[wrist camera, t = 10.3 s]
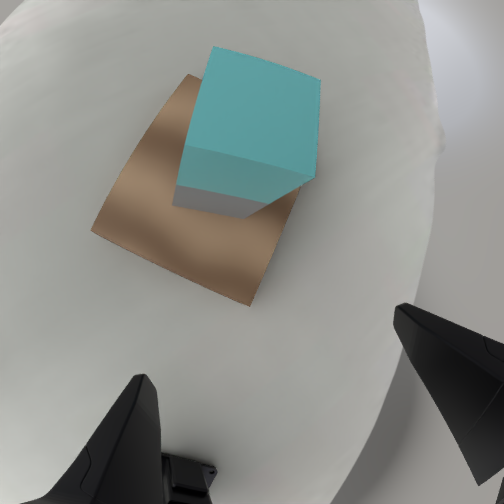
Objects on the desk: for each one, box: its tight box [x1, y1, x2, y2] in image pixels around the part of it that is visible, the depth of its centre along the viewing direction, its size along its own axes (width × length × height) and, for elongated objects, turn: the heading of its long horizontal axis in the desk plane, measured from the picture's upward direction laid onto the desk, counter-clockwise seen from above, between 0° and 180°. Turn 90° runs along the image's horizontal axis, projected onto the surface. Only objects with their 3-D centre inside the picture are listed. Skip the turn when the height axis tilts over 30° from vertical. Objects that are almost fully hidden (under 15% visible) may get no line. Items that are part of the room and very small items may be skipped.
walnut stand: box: [91, 74, 318, 307], centre depth 21 cm, size 14×12×2 cm
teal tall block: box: [172, 46, 321, 219], centre depth 15 cm, size 5×5×10 cm
